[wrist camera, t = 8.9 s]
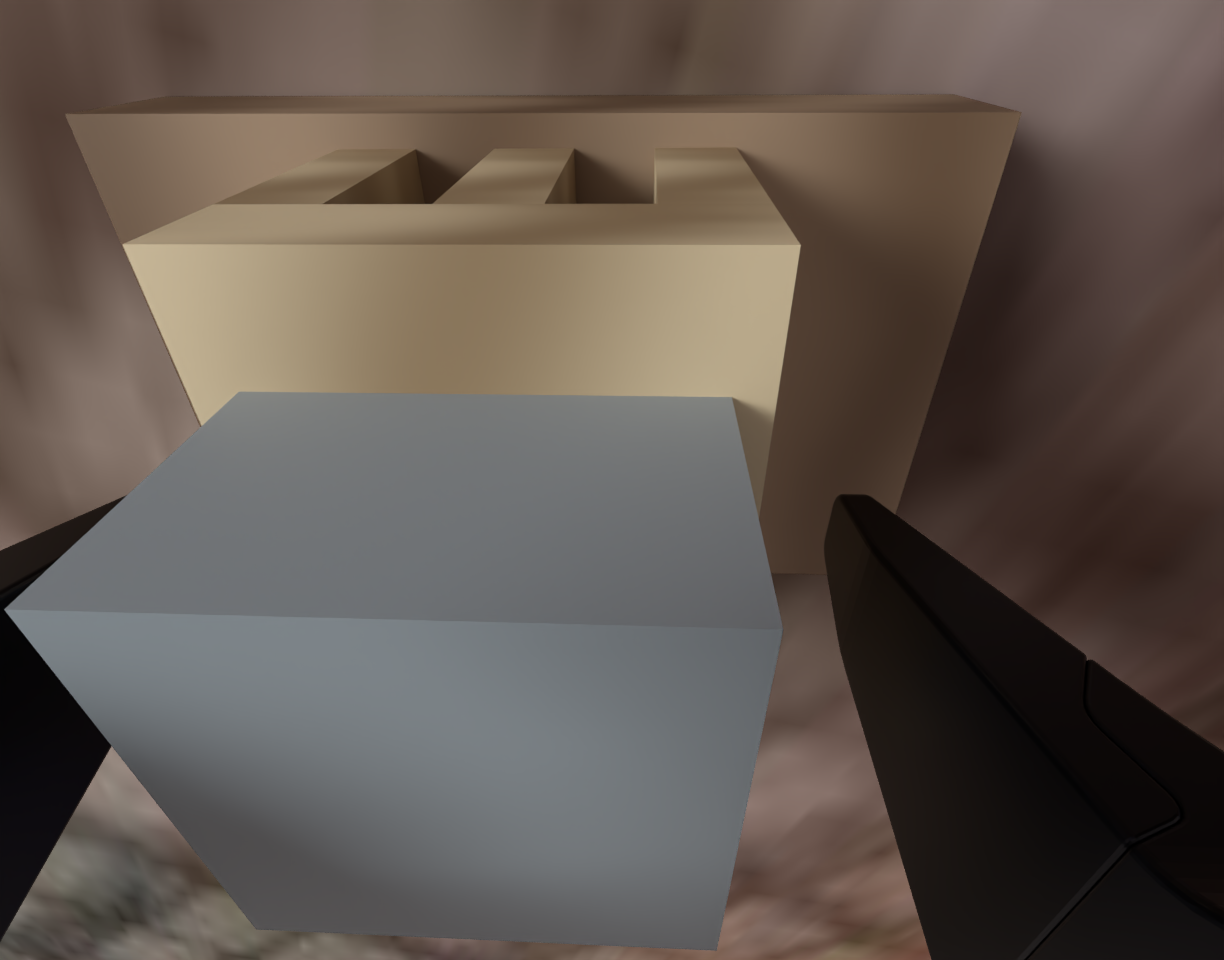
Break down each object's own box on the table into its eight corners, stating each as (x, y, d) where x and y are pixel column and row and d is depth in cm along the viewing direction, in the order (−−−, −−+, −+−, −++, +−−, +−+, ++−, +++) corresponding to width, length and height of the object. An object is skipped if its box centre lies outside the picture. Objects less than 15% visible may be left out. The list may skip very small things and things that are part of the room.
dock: (954, 94, 11) (1022, 112, 9) (847, 506, 17) (876, 576, 14) (164, 97, 12) (65, 114, 10) (304, 495, 17) (258, 560, 15)
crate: (732, 397, 6) (783, 628, 4) (698, 706, 9) (716, 950, 7) (238, 391, 7) (3, 609, 4) (356, 696, 10) (256, 928, 7)
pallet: (735, 147, 10) (800, 244, 6) (699, 553, 14) (720, 767, 10) (337, 149, 10) (121, 243, 6) (429, 547, 15) (344, 754, 10)
